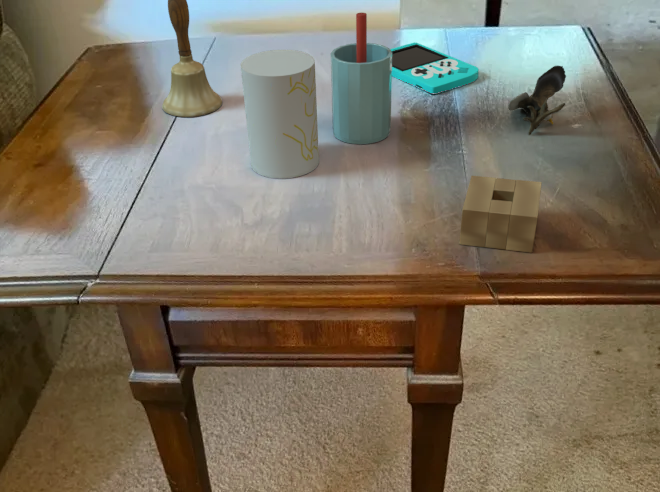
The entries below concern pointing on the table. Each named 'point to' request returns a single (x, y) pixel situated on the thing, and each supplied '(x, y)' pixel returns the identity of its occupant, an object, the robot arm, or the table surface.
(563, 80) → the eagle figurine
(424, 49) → the handheld game console
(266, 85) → the cup
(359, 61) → the straw
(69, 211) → the table surface
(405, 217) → the table surface
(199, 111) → the hand bell
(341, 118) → the tumbler
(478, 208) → the straw holder
